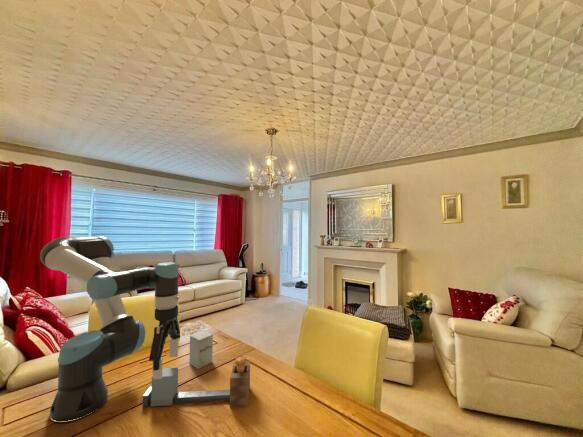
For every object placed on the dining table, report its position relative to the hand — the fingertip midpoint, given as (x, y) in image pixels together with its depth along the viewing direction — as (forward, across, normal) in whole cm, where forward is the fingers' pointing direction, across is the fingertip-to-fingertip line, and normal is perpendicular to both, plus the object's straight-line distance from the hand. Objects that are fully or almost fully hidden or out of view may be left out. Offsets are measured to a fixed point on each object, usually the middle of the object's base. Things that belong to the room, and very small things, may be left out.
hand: (166, 366), depth 87 cm
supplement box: (+12, +24, -6) cm, 28 cm away
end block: (+12, 0, -26) cm, 29 cm away
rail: (+12, 0, -8) cm, 15 cm away
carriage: (+12, 0, 0) cm, 12 cm away
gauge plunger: (+5, 0, -26) cm, 27 cm away
